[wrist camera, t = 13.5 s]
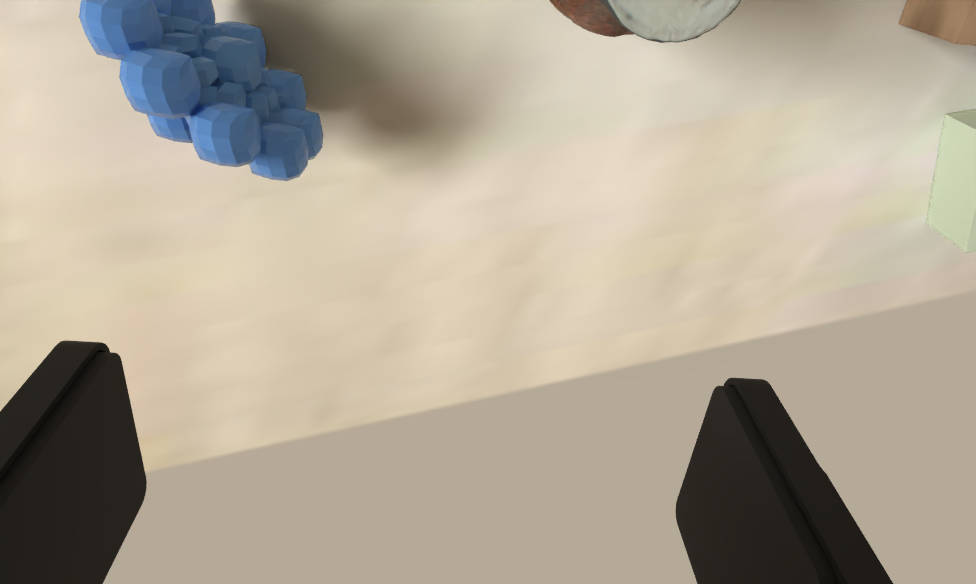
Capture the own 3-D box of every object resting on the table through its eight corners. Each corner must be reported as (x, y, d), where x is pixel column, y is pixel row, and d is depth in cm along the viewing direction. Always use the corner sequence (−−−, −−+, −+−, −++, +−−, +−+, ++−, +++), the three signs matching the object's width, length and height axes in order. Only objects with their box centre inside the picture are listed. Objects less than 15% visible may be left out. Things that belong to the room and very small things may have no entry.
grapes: (105, 10, 36) (-37, 67, 26) (192, -83, 34) (77, -61, 24) (275, 177, 41) (213, 280, 31) (360, 104, 39) (325, 189, 29)
